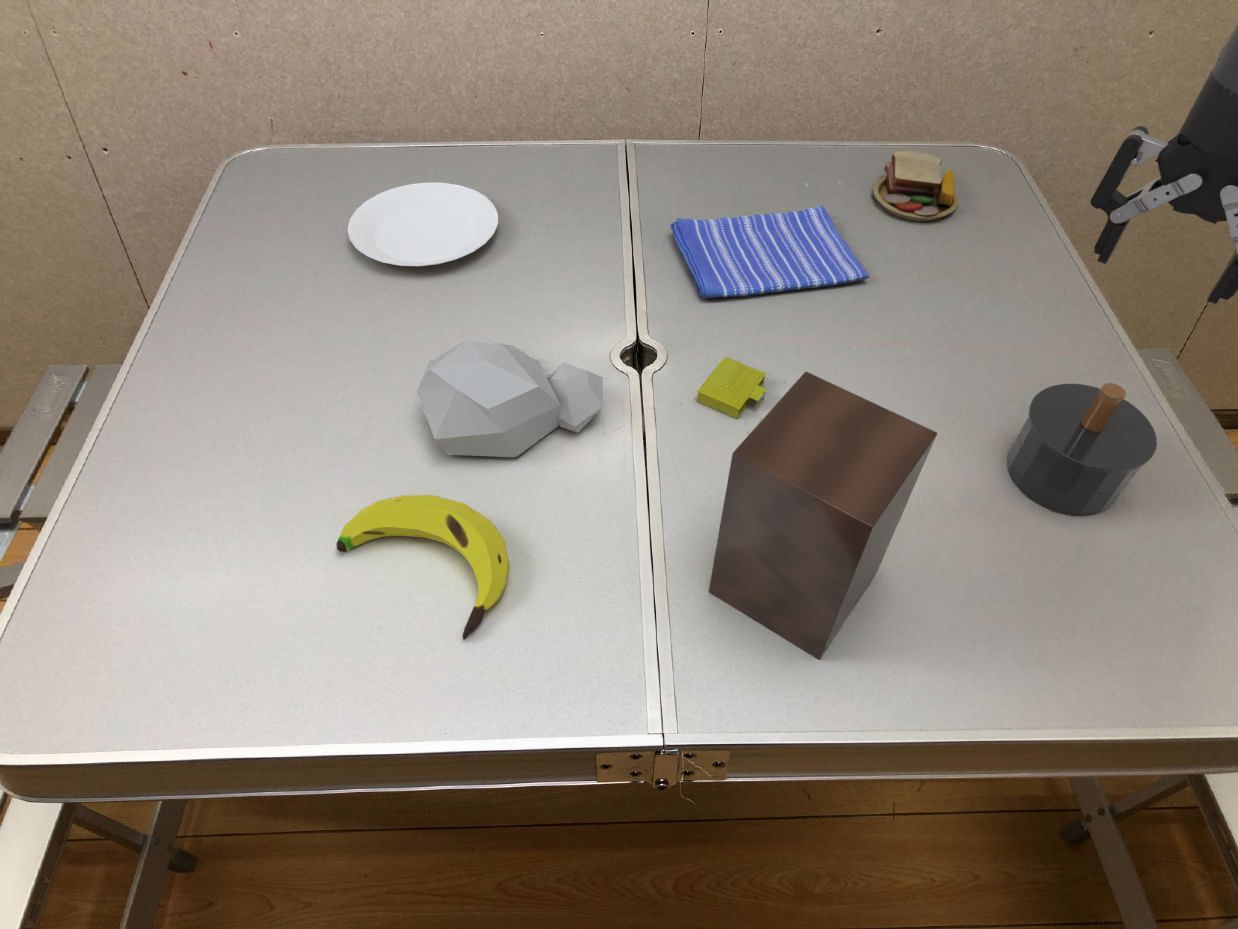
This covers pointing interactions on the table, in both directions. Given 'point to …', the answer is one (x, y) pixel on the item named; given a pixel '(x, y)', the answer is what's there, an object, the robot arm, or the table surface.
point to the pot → (1061, 478)
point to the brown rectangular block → (814, 509)
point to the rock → (502, 399)
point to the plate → (423, 224)
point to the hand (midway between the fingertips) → (1157, 277)
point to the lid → (1092, 427)
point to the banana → (439, 539)
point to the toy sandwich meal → (916, 187)
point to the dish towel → (765, 253)
